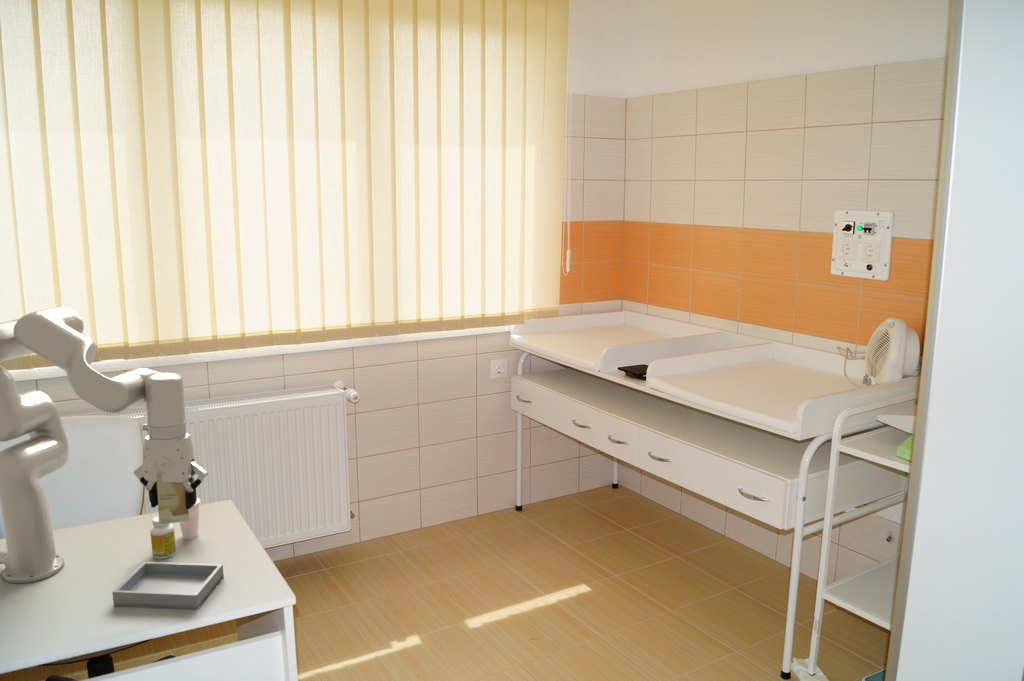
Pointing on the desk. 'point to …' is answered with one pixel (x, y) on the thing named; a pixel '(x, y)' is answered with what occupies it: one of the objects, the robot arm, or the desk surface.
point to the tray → (168, 585)
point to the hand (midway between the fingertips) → (173, 505)
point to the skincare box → (171, 502)
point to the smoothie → (191, 522)
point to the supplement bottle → (162, 539)
